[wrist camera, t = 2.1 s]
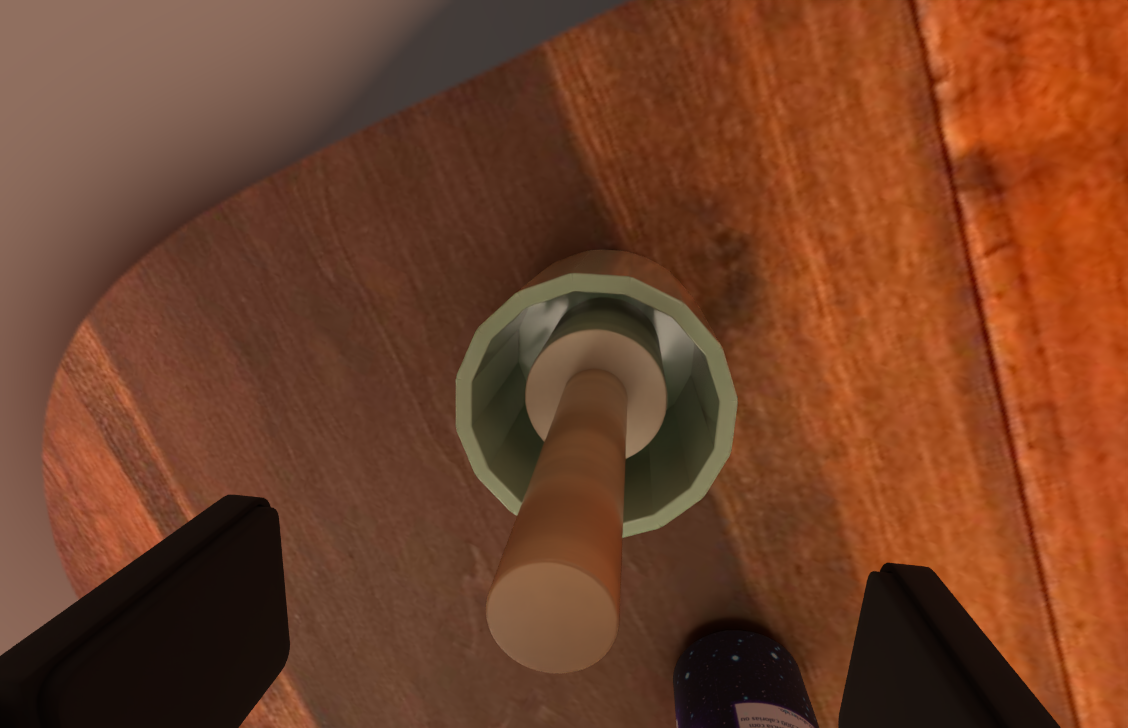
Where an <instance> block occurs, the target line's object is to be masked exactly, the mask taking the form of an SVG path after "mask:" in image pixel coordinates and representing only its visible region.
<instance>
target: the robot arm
mask: <svg viewBox="0 0 1128 728" xmlns="http://www.w3.org/2000/svg"><path fill="white" fill-rule="evenodd" d="M289 650H290V640H289V628H288V617H287V605H286V594H285V582H284V571H283V559H282V548H281V536H280V525H279V516H278V512H277V511H276V509H274V508H271V507H270V504H269V502H268V500H266V499H265V498H260V497H251V496H241V495H227V496H225V497H223V498H221V499H220V500H219V501H217V502H216V503H214V504H213V505H212V506H210V507H209V508H207V509H206V510H205V511H203V512H202V513H200V514H199V515H198V516H196V517H195V518H193V519H192V520H190V521H189V522H188V523H186V524H185V525H183V526H182V527H181V528H179V529H178V530H176V531H175V532H174V533H172V534H171V535H169V536H168V537H167V538H165V539H164V540H162V541H161V542H160V543H158V544H157V545H155V546H154V547H153V548H151V549H150V550H148V551H147V552H146V553H144V554H143V555H141V556H140V557H138V558H137V559H136V560H134V561H133V562H131V563H130V564H129V565H127V566H126V567H124V568H123V569H122V570H120V571H119V572H117V573H116V574H115V575H113V576H112V577H110V578H109V579H108V580H106V581H105V582H103V583H102V584H101V585H99V586H98V587H96V588H95V589H94V590H92V591H91V592H89V593H88V594H87V595H85V596H84V597H82V598H81V599H79V600H78V601H77V602H75V603H74V604H73V605H71V606H70V607H68V608H67V609H66V610H64V611H63V612H61V613H60V614H59V615H57V616H56V617H54V618H53V619H51V620H50V621H49V622H47V623H46V624H44V625H43V626H42V627H40V628H39V629H37V630H36V631H35V632H33V633H32V634H30V635H29V636H27V637H26V638H25V639H23V640H22V641H20V642H19V643H18V644H16V645H15V646H13V647H12V648H11V649H10V650H8V651H6V652H5V653H4V654H2V655H1V656H0V728H239V726H240V725H241V724H242V722H243V721H244V720H245V718H246V717H247V716H248V714H249V713H250V712H251V710H252V709H253V708H254V706H255V705H256V704H257V703H258V701H259V700H260V699H261V697H262V696H263V695H264V693H265V692H266V691H267V689H268V688H269V687H270V685H271V684H272V683H273V681H274V680H275V679H276V677H277V676H278V675H279V673H280V672H281V671H282V669H283V668H284V666H285V663H286V661H287V658H288V655H289ZM839 728H1061V727H1060V726H1059V725H1058V724H1057V722H1056V721H1055V720H1054V719H1053V718H1052V716H1051V715H1050V714H1049V713H1048V711H1047V710H1046V709H1045V708H1044V706H1043V705H1042V704H1041V703H1040V702H1039V700H1038V699H1037V698H1036V697H1035V695H1034V694H1033V693H1032V692H1031V690H1030V689H1029V688H1028V687H1027V685H1026V684H1025V683H1024V682H1023V681H1022V679H1021V678H1020V677H1019V676H1018V674H1017V673H1016V672H1015V671H1014V669H1013V668H1012V667H1011V666H1010V665H1009V663H1008V662H1007V661H1006V660H1005V658H1004V657H1003V656H1002V655H1001V653H1000V652H999V651H998V650H997V649H996V647H995V646H994V645H993V644H992V642H991V641H990V640H989V639H988V637H987V636H986V635H985V634H984V633H983V631H982V630H981V629H980V628H979V626H978V625H977V624H976V623H975V621H974V620H973V619H972V618H971V617H970V615H969V614H968V613H967V612H966V610H965V609H964V608H963V607H962V605H961V604H960V603H959V602H958V601H957V599H956V598H955V597H954V596H953V594H952V593H951V592H950V591H949V589H948V588H947V587H946V586H945V585H944V583H943V582H942V581H941V580H940V578H939V577H938V576H937V575H936V573H935V572H934V571H933V570H932V569H930V568H929V567H924V566H915V565H905V564H896V563H886V564H884V565H883V566H882V568H881V570H880V572H877V571H873V572H871V573H870V575H869V576H868V580H867V584H866V588H865V593H864V598H863V603H862V608H861V612H860V617H859V622H858V627H857V631H856V636H855V641H854V646H853V651H852V655H851V660H850V665H849V670H848V675H847V679H846V684H845V689H844V694H843V699H842V703H841V708H840V713H839Z"/></svg>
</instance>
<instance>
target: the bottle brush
mask: <svg viewBox="0 0 1128 728" xmlns="http://www.w3.org/2000/svg"><path fill="white" fill-rule="evenodd" d="M525 403H526V409H527V413H528V416H529V419H530V421H531V423H532V425H533V427H534V429H535V430H536V432H537V434H538V435H539V436H540V437H541V438H542V440H543V441H544V445H543V448H542V450H541V453H540V456H539V458H538V461H537V464H536V466H535V469H534V472H533V475H532V477H531V480H530V483H529V485H528V488H527V491H526V493H525V496H524V499H523V502H522V504H521V507H520V510H519V512H518V515H517V518H516V520H515V523H514V526H513V529H512V531H511V534H510V537H509V539H508V542H507V545H506V547H505V550H504V553H503V556H502V558H501V561H500V564H499V566H498V569H497V572H496V574H495V577H494V580H493V582H492V585H491V588H490V591H489V593H488V597H487V601H486V618H487V623H488V626H489V629H490V632H491V634H492V636H493V638H494V640H495V641H496V642H497V644H498V645H499V646H500V648H501V649H502V650H503V651H504V652H505V653H506V654H507V655H509V656H510V657H511V658H512V659H514V660H515V661H517V662H518V663H520V664H522V665H524V666H526V667H529V668H531V669H534V670H537V671H541V672H546V673H556V674H559V673H571V672H576V671H579V670H582V669H585V668H587V667H589V666H591V665H593V664H595V663H596V662H597V661H599V660H600V659H601V658H602V657H603V656H604V655H605V654H606V653H607V652H608V651H609V649H610V648H611V647H612V645H613V643H614V641H615V639H616V636H617V633H618V629H619V617H620V591H621V565H622V538H623V512H624V486H625V460H626V458H628V457H630V456H632V455H634V454H636V453H637V452H639V451H640V450H642V449H643V448H644V447H645V446H646V445H648V444H649V443H650V441H651V440H652V439H653V438H654V437H655V435H656V434H657V432H658V431H659V429H660V427H661V425H662V423H663V420H664V417H665V414H666V409H667V387H666V381H665V375H664V368H663V362H662V356H661V350H660V344H659V339H658V335H657V333H656V330H655V328H654V326H653V324H652V323H651V321H650V320H649V318H648V317H647V316H646V315H645V314H644V313H643V312H642V311H641V310H640V309H638V308H637V307H636V306H634V305H632V304H630V303H628V302H626V301H623V300H620V299H616V298H609V297H600V298H593V299H589V300H586V301H583V302H581V303H579V304H577V305H575V306H574V307H572V308H571V309H570V310H569V311H567V312H566V313H565V314H564V315H563V317H562V318H561V319H560V321H559V322H558V324H557V325H556V327H555V329H554V330H553V332H552V333H551V335H550V337H549V338H548V340H547V342H546V343H545V345H544V346H543V348H542V350H541V351H540V353H539V355H538V356H537V358H536V359H535V361H534V363H533V365H532V367H531V369H530V371H529V374H528V377H527V381H526V387H525Z"/></svg>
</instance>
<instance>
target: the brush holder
mask: <svg viewBox="0 0 1128 728" xmlns="http://www.w3.org/2000/svg"><path fill="white" fill-rule="evenodd" d="M600 297H609V298H616V299H620V300H623V301H626V302H628V303H630V304H632V305H634V306H636V307H637V308H638V309H640V310H641V311H642V312H643V313H644V314H645V315H646V316H647V317H648V318H649V320H650V321H651V323H652V324H653V326H654V328H655V330H656V333H657V335H658V339H659V344H660V350H661V356H662V362H663V368H664V375H665V381H666V387H667V409H666V414H665V417H664V420H663V423H662V425H661V427H660V429H659V431H658V432H657V434H656V435H655V437H654V438H653V439H652V440H651V441H650V443H649V444H648V445H646V446H645V447H644V448H643V449H642V450H640V451H639V452H637V453H636V454H634V455H632V456H630V457H628V458H626V460H625V486H624V512H623V537H627V536H631V535H635V534H639V533H643V532H647V531H651V530H655V529H659V528H660V527H663V526H664V525H666V524H667V523H669V522H670V521H671V520H673V519H674V518H676V517H677V516H678V515H680V514H681V513H683V512H684V511H685V510H687V509H688V508H690V507H691V506H692V505H694V504H695V503H697V502H698V501H699V500H701V499H702V498H703V497H704V496H705V495H706V493H707V491H708V490H709V488H710V486H711V485H712V483H713V482H714V480H715V478H716V477H717V475H718V474H719V472H720V470H721V469H722V467H723V465H724V464H725V462H726V461H727V459H728V457H729V456H730V452H731V451H732V443H733V436H734V428H735V421H736V414H737V406H738V397H737V393H736V390H735V387H734V384H733V380H732V377H731V374H730V370H729V367H728V364H727V360H726V357H725V354H724V351H723V348H722V346H721V344H720V342H719V341H718V339H717V337H716V335H715V334H714V332H713V330H712V329H711V327H710V325H709V323H708V322H707V320H706V318H705V316H704V315H703V313H702V311H701V309H700V308H699V306H698V304H697V302H696V301H695V299H694V298H693V297H692V296H691V295H690V294H689V292H688V291H687V290H686V289H685V287H684V286H683V285H682V284H681V283H680V282H679V280H678V279H677V278H676V277H675V276H674V275H673V274H672V273H671V272H670V271H669V270H668V269H666V268H664V267H662V266H661V265H659V264H657V263H655V262H654V261H652V260H650V259H648V258H645V257H643V256H640V255H638V254H635V253H632V252H626V251H620V250H588V251H586V252H582V253H579V254H575V255H572V256H570V257H567V258H565V259H563V260H560V261H557V262H555V263H553V264H551V265H550V266H548V267H547V268H546V269H545V270H543V271H542V272H541V273H540V274H538V275H537V276H536V277H535V278H533V279H532V280H531V281H530V282H529V283H527V284H526V285H525V286H524V287H522V288H521V289H520V290H519V291H517V292H516V293H515V294H514V295H513V296H512V297H511V298H509V299H508V300H507V301H506V302H505V303H504V304H503V305H502V306H501V307H500V308H499V309H497V310H496V311H495V312H494V313H493V314H492V315H491V316H490V317H489V318H488V319H487V320H486V321H484V322H483V323H482V324H481V325H480V326H479V327H478V329H477V330H476V331H475V333H474V336H473V338H472V340H471V343H470V345H469V347H468V350H467V352H466V354H465V356H464V359H463V361H462V363H461V366H460V368H459V370H458V373H457V375H456V428H457V433H458V435H459V437H460V440H461V442H462V445H463V447H464V449H465V452H466V454H467V456H468V459H469V461H470V464H471V466H472V468H473V471H474V473H475V475H476V476H477V478H478V479H479V480H480V481H481V482H482V483H483V484H484V485H485V486H486V487H487V488H488V489H489V490H490V491H491V492H492V493H493V494H494V495H495V496H496V497H497V498H498V499H499V500H500V501H501V503H502V504H503V505H504V506H505V507H506V508H507V509H508V510H509V511H510V512H512V513H513V514H515V515H518V512H519V510H520V507H521V504H522V502H523V499H524V496H525V493H526V491H527V488H528V485H529V483H530V480H531V477H532V475H533V472H534V469H535V466H536V464H537V461H538V458H539V456H540V453H541V450H542V448H543V445H544V441H543V440H542V438H541V437H540V436H539V435H538V434H537V432H536V430H535V429H534V427H533V425H532V423H531V421H530V419H529V416H528V413H527V409H526V403H525V387H526V381H527V377H528V374H529V371H530V369H531V367H532V365H533V363H534V361H535V359H536V358H537V356H538V355H539V353H540V351H541V350H542V348H543V346H544V345H545V343H546V342H547V340H548V338H549V337H550V335H551V333H552V332H553V330H554V329H555V327H556V325H557V324H558V322H559V321H560V319H561V318H562V317H563V315H564V314H565V313H566V312H567V311H569V310H570V309H571V308H572V307H574V306H575V305H577V304H579V303H581V302H583V301H586V300H589V299H593V298H600Z"/></svg>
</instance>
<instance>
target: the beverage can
mask: <svg viewBox="0 0 1128 728" xmlns="http://www.w3.org/2000/svg"><path fill="white" fill-rule="evenodd" d="M673 685H674V698H675V711H676V724H677V728H819V726H818V723H817V720H816V717H815V714H814V711H813V708H812V705H811V702H810V700H809V697H808V694H807V691H806V688H805V685H804V682H803V679H802V676H801V673H800V671H799V668H798V665H797V663H796V661H795V660H794V658H793V657H792V656H791V654H790V653H789V652H788V651H787V650H786V649H785V648H784V647H783V646H781V645H780V644H779V643H777V642H776V641H774V640H772V639H770V638H768V637H766V636H764V635H761V634H758V633H754V632H749V631H741V630H728V631H721V632H717V633H713V634H710V635H707V636H705V637H703V638H701V639H699V640H697V641H696V642H694V643H693V644H692V645H690V646H689V647H688V648H687V649H686V650H685V651H684V652H683V654H682V655H681V656H680V658H679V660H678V662H677V664H676V667H675V670H674V676H673Z"/></svg>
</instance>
